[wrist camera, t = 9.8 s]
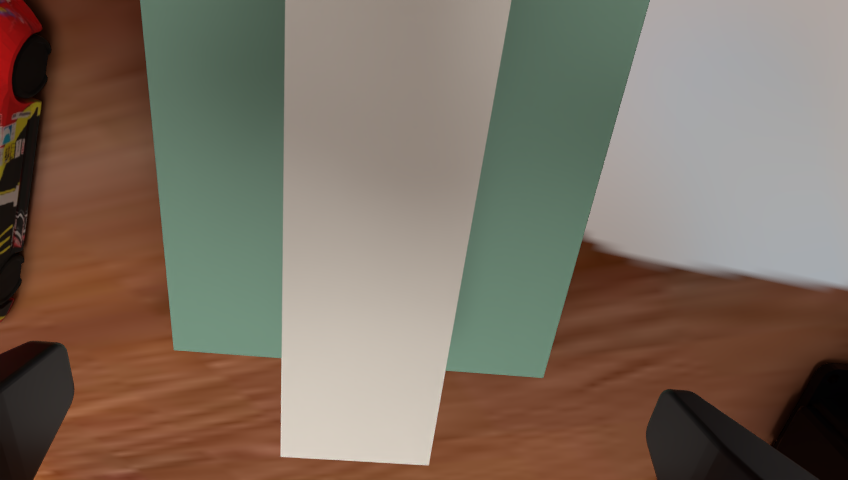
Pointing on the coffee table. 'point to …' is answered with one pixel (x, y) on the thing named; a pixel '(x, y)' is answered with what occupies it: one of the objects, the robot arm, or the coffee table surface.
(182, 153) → the board
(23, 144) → the race car
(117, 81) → the coffee table surface
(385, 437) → the grey rectangular block
